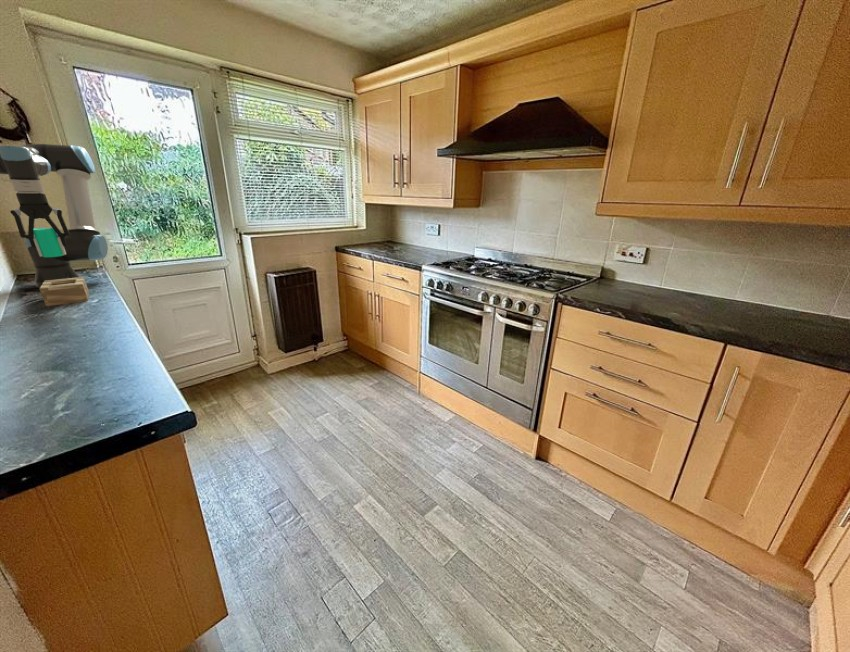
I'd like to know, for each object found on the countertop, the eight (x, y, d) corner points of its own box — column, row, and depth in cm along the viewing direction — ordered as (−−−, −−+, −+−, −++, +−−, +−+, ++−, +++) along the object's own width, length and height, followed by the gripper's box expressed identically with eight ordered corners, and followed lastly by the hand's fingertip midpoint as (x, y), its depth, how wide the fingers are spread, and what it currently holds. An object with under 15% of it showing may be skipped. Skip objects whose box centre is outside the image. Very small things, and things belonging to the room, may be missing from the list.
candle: (68, 254, 141) (57, 224, 136) (52, 257, 135) (40, 225, 131) (54, 254, 141) (43, 223, 137) (38, 256, 136) (25, 225, 131)
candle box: (50, 296, 147) (44, 280, 144) (89, 292, 154) (83, 276, 152) (46, 306, 135) (39, 288, 133) (87, 300, 143) (82, 284, 140)
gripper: (-11, 192, 121) (16, 259, 130) (64, 193, 132) (85, 254, 141) (-7, 191, 126) (20, 255, 135) (65, 192, 138) (85, 251, 146)
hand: (53, 254), depth 138 cm, fingers closed on candle, 6 cm apart
